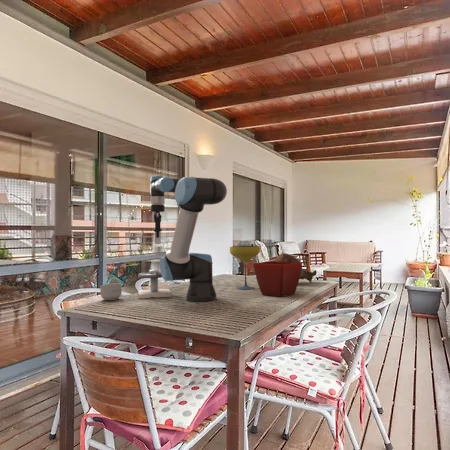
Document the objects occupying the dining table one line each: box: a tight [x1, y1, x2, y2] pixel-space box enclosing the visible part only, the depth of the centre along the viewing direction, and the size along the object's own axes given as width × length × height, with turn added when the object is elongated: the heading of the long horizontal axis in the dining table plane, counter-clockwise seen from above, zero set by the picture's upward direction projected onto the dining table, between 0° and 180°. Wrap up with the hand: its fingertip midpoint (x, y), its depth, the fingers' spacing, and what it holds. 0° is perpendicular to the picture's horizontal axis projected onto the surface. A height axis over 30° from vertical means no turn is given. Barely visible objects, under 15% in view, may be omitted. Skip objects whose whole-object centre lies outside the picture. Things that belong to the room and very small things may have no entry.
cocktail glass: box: [229, 245, 261, 291], centre depth 228 cm, size 18×18×25 cm
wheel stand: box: [138, 278, 172, 299], centre depth 211 cm, size 17×17×10 cm
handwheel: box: [137, 269, 163, 279], centre depth 211 cm, size 17×17×8 cm
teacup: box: [99, 282, 123, 301], centre depth 200 cm, size 14×11×8 cm
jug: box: [272, 252, 318, 283], centre depth 245 cm, size 20×20×30 cm
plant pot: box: [253, 260, 303, 298], centre depth 201 cm, size 19×19×17 cm
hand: (158, 243), depth 209 cm, fingers open, 13 cm apart
